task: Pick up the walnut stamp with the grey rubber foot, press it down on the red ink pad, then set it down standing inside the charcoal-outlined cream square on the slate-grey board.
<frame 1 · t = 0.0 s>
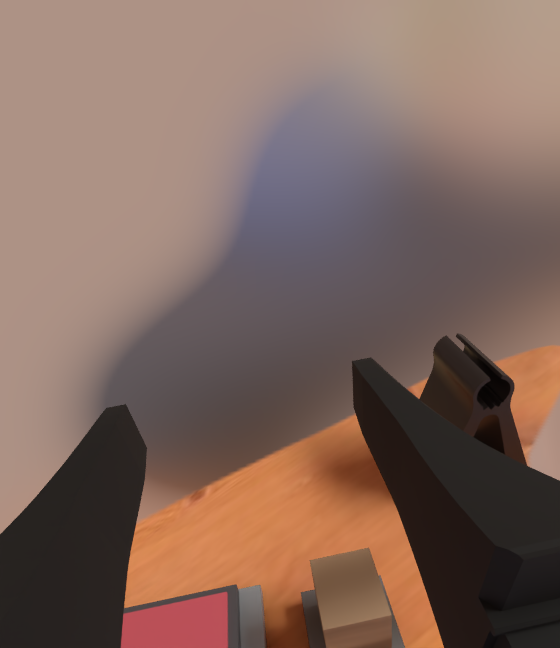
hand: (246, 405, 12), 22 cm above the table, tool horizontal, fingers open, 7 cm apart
phone stand: (459, 467, 35), on the table
stamp: (353, 642, 25), on the table
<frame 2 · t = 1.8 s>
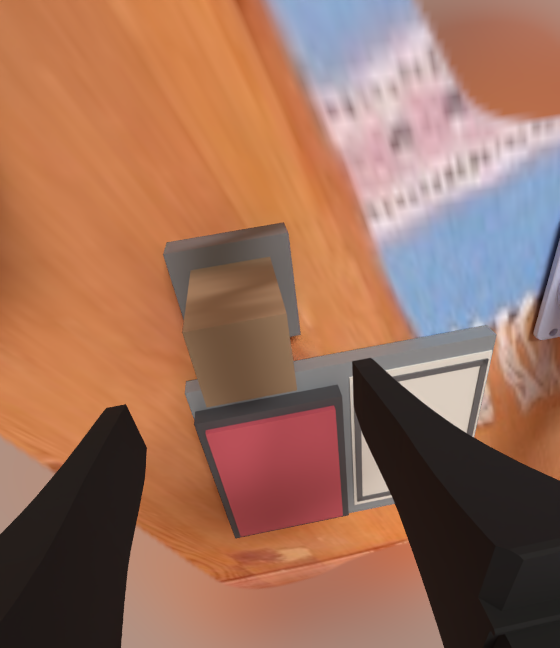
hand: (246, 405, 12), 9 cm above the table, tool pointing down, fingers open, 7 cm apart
stamp board: (343, 438, 27), on the table
stamp: (236, 283, 20), on the table
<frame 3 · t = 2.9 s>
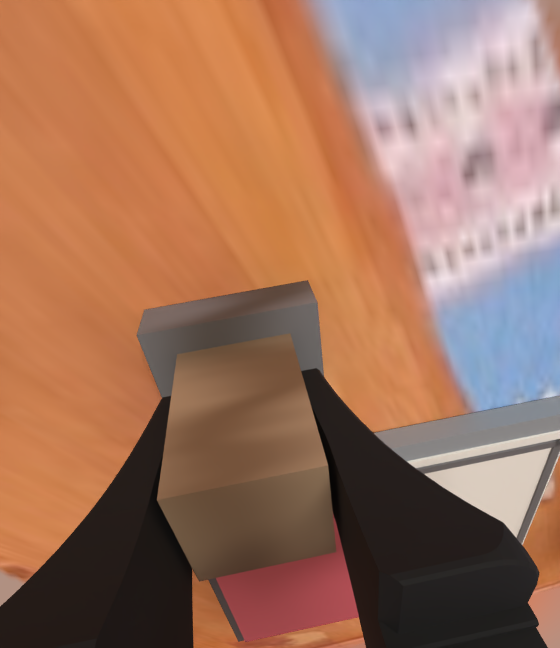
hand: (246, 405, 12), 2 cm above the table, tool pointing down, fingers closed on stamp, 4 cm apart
stamp board: (372, 523, 22), on the table
stamp: (241, 359, 15), on the table, touching gripper
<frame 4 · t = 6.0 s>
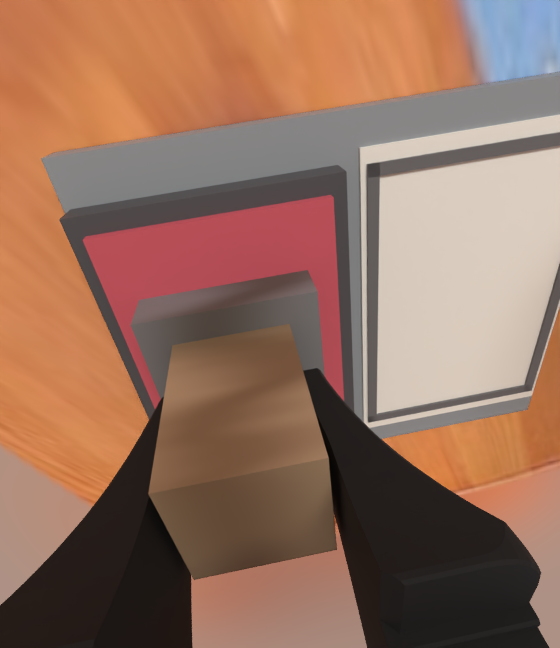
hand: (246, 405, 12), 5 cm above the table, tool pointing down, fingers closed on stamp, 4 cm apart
stamp board: (347, 307, 16), on the table
stamp: (239, 351, 14), point 2 cm above the table, touching gripper, stamp board
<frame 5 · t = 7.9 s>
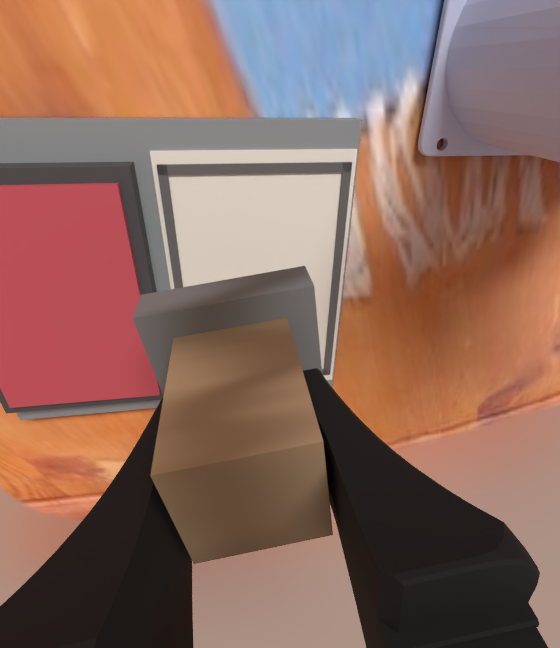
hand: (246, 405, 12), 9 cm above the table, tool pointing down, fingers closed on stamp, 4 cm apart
stamp board: (167, 283, 20), on the table
stamp: (238, 346, 14), point 7 cm above the table, touching gripper
when the fingers open (5 cm above the table, at t = 9.3 s): stamp stays where it is, resting on stamp board.
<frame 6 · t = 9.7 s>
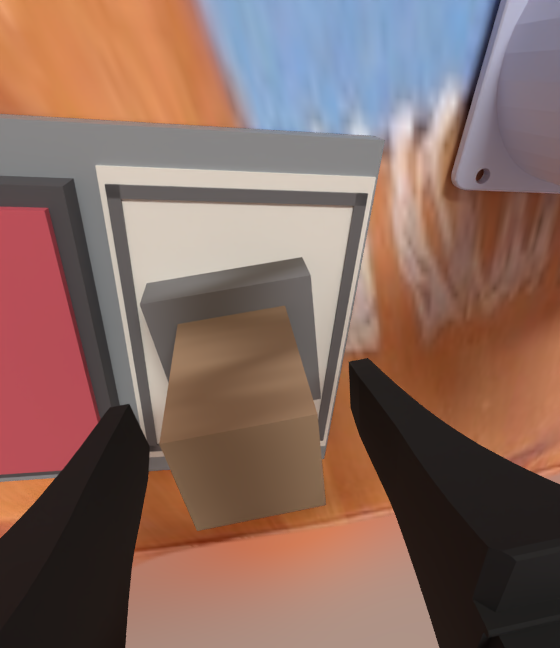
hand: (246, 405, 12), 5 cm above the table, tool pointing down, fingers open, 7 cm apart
stamp board: (123, 329, 16), on the table
stamp: (238, 333, 15), point 1 cm above the table, touching stamp board
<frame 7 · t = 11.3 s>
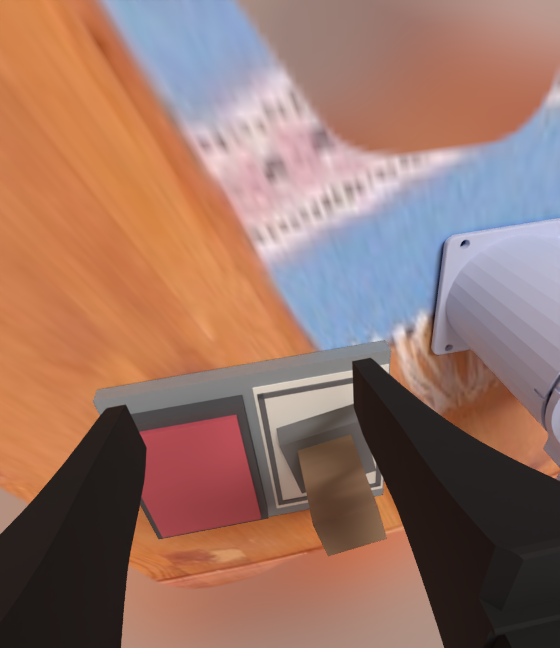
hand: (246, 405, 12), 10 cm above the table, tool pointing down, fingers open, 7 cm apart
stamp board: (260, 444, 28), on the table
stamp: (325, 441, 27), point 1 cm above the table, touching stamp board
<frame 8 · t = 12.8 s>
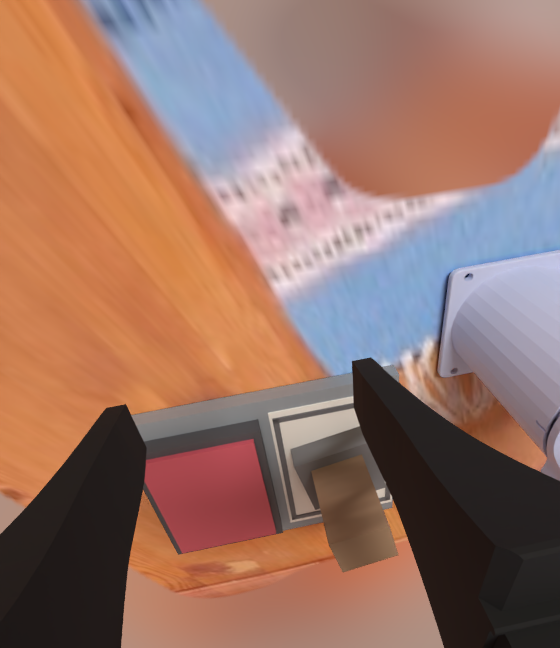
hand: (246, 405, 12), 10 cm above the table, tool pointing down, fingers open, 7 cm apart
stamp board: (274, 463, 30), on the table
stamp: (336, 460, 29), point 1 cm above the table, touching stamp board
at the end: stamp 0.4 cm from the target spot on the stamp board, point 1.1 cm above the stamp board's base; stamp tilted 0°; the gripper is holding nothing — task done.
